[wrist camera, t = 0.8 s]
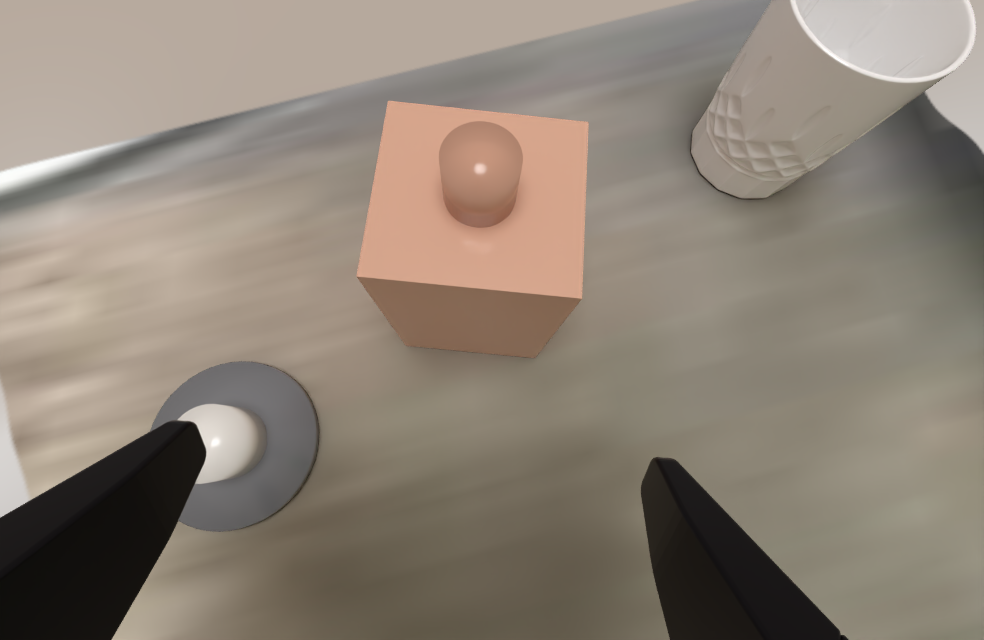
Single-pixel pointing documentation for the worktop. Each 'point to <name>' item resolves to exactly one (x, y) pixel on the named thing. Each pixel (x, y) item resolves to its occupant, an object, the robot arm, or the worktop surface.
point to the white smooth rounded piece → (228, 440)
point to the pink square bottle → (476, 227)
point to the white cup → (822, 84)
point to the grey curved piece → (285, 450)
